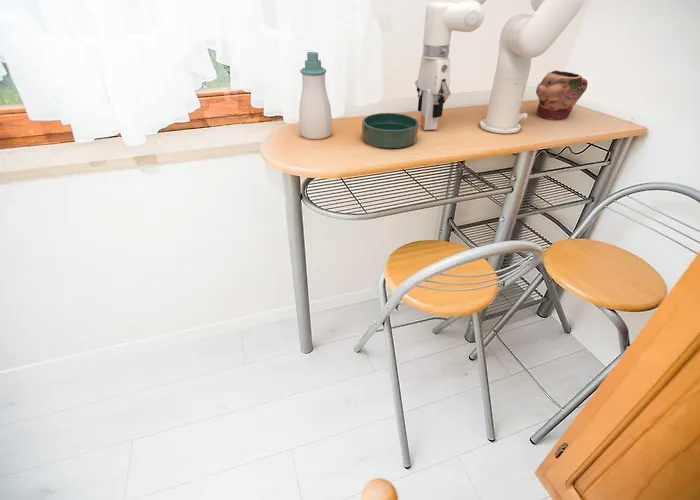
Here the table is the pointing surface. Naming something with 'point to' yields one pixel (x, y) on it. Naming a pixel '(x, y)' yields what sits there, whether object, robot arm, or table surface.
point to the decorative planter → (559, 94)
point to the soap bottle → (314, 101)
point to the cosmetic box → (428, 111)
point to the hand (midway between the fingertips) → (429, 113)
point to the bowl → (389, 130)
